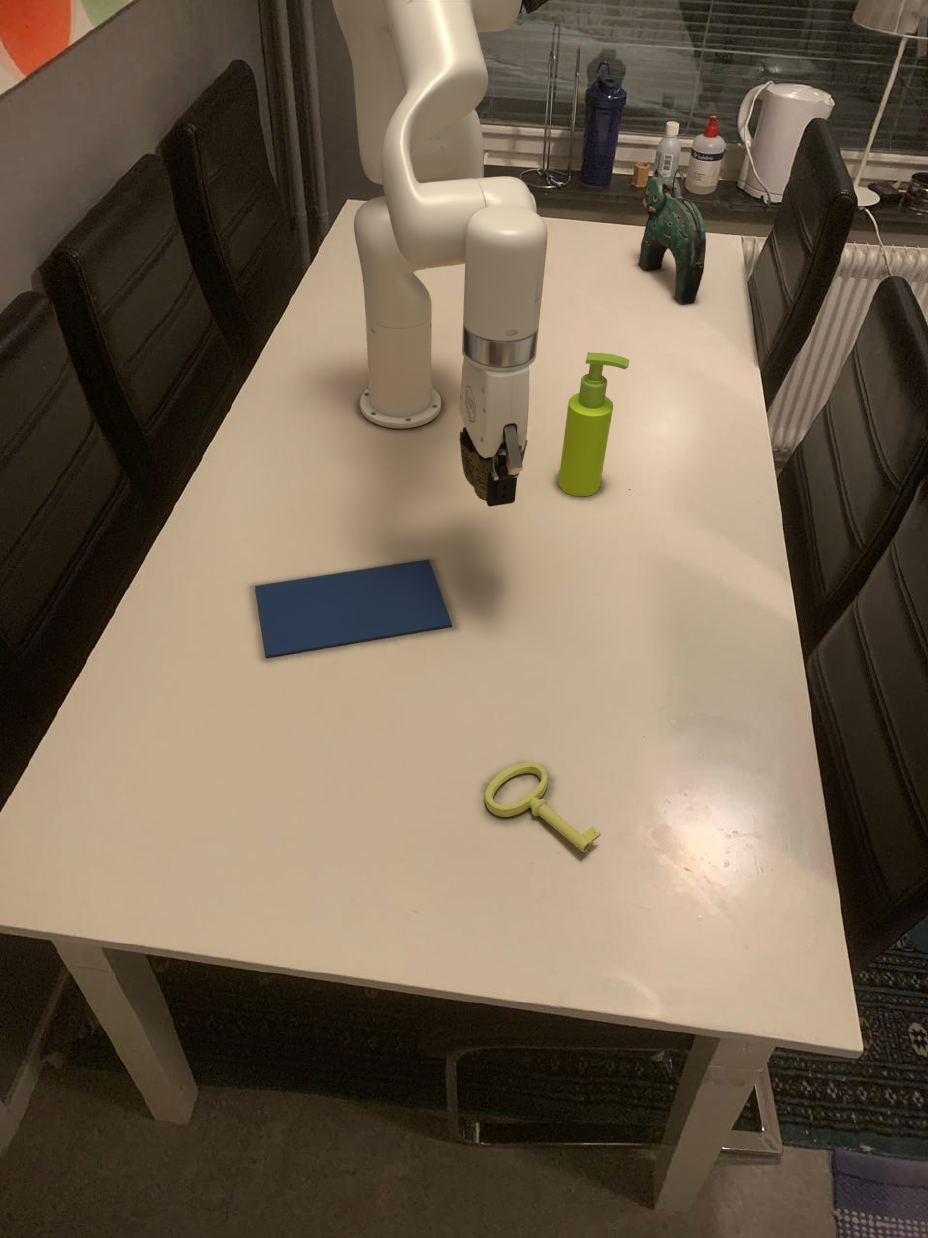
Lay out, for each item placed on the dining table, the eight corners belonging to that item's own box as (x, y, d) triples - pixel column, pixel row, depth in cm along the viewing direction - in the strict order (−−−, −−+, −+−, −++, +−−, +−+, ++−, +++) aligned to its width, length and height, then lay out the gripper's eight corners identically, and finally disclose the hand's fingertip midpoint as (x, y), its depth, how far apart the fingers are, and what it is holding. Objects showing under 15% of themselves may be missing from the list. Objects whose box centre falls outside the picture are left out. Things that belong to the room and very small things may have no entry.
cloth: (255, 588, 113) (254, 585, 112) (429, 561, 117) (429, 559, 117) (266, 658, 104) (265, 655, 104) (452, 626, 109) (452, 624, 109)
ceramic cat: (629, 261, 181) (646, 154, 167) (658, 258, 183) (678, 152, 169) (674, 307, 168) (697, 195, 154) (706, 303, 170) (731, 192, 155)
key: (587, 863, 87) (590, 851, 86) (475, 806, 91) (476, 794, 90) (617, 808, 92) (620, 796, 90) (509, 756, 96) (510, 744, 94)
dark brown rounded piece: (529, 482, 107) (535, 424, 101) (511, 520, 102) (517, 462, 96) (468, 468, 108) (471, 411, 103) (448, 505, 104) (450, 447, 98)
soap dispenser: (605, 500, 127) (627, 371, 113) (555, 493, 128) (572, 364, 114) (608, 475, 131) (631, 348, 117) (561, 468, 132) (577, 341, 118)
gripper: (441, 302, 96) (439, 443, 109) (488, 390, 85) (480, 536, 98) (509, 295, 98) (499, 435, 111) (564, 380, 86) (546, 525, 99)
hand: (490, 481), depth 104 cm, fingers closed on dark brown rounded piece, 7 cm apart
